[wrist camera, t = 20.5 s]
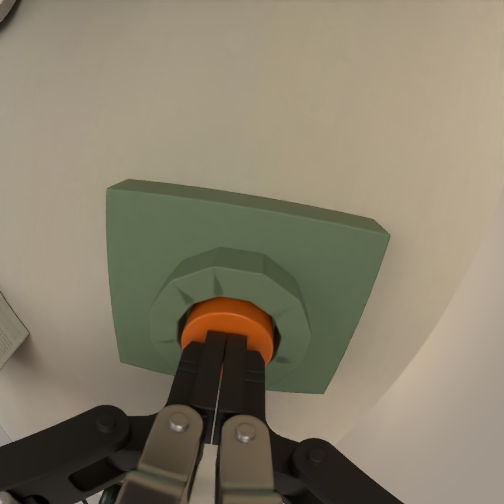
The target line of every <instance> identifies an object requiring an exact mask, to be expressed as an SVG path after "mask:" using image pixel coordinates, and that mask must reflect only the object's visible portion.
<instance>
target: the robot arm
mask: <svg viewBox="0 0 504 504" xmlns="http://www.w3.org/2000/svg"><path fill="white" fill-rule="evenodd" d="M226 334H227V333H223V332H216V331H211V330H208V331H207V334H206V339H205V343H201V342H196V341H191V342H190V343H189V344H188V345H187V346H186V347H185V348H184V349H183V352H182V355H181V358H180V362H179V364H178V368H177V371H176V374H175V377H174V381H173V384H172V387H171V391H170V394H169V397H168V401H167V403H166V405H165V406H164V408H163V409H162V410H160V411H159V412H157V413H155V414H153V415H149V416H127V415H126V414H125V413H124V412H123V411H122V410H121V409H119V408H117V407H115V406H111V405H100V406H97V407H95V408H92V409H90V410H88V411H86V412H84V413H82V414H79V415H77V416H75V417H73V418H70V419H68V420H66V421H64V422H61V423H59V424H57V425H54V426H52V427H50V428H47V429H45V430H42V431H40V432H38V433H35V434H33V435H30V436H28V437H25V438H22V439H20V440H17V441H15V442H12V443H9V444H6V445H4V446H1V447H0V504H74V503H77V502H79V501H81V500H83V499H86V498H87V497H90V496H92V495H94V494H96V493H98V492H100V491H102V490H104V489H106V488H108V487H110V486H112V485H114V484H115V483H117V482H119V481H121V480H123V479H124V481H123V484H122V486H121V489H120V491H119V494H118V497H117V499H116V502H115V504H189V503H190V499H191V495H192V491H193V488H194V484H195V480H196V476H197V472H198V468H199V464H200V461H201V459H202V456H203V449H204V443H206V444H210V443H211V436H212V429H213V422H214V415H215V408H216V401H217V394H218V388H219V381H220V374H221V368H222V361H223V354H224V347H225V341H226ZM212 444H213V445H218V450H217V458H216V464H215V504H283V503H284V504H404V503H402V502H401V501H400V500H398V499H397V498H396V497H394V496H393V495H392V494H390V493H389V492H388V491H387V490H385V489H384V488H383V487H381V486H380V485H379V484H378V483H376V482H375V481H374V480H372V479H371V478H370V477H369V476H368V475H366V474H365V473H364V472H363V471H362V470H360V469H359V468H358V467H357V466H356V465H354V464H353V463H352V462H351V461H350V460H349V459H347V458H346V457H345V456H344V455H343V454H342V453H340V452H339V451H338V450H337V449H336V448H335V447H334V446H333V445H331V444H330V443H329V442H327V441H325V440H322V439H318V438H310V439H306V440H303V441H301V442H300V443H299V442H296V441H293V440H290V439H286V438H284V437H281V436H279V435H277V434H276V433H275V432H273V431H272V430H271V429H270V427H269V426H268V424H267V422H266V418H265V361H264V359H263V357H262V355H261V354H260V352H259V351H253V350H247V336H243V335H236V334H229V333H228V339H227V345H226V352H225V358H224V365H223V372H222V379H221V386H220V392H219V400H218V407H217V414H216V421H215V428H214V435H213V443H212Z"/></svg>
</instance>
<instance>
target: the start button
mask: <svg viewBox="0 0 504 504" xmlns="http://www.w3.org/2000/svg"><path fill="white" fill-rule="evenodd" d="M208 330H211V331H216V332H223V333H227V334H226V341H225V347H224V354H223V361H222V368H221V374H220V378H221V379H222V372H223V365H224V358H225V352H226V345H227V339H228V333H229V334H236V335H243V336H247V350H253V351H259V352H260V354H261V355H262V357H263V359H264V361H265V367H266V365H267V364H268V363H269V361H270V359H271V357H272V354H273V328H272V318H271V315H269V314H268V313H266V312H265V311H263V310H262V309H260V308H259V307H257V306H256V305H255V304H253V303H252V302H250V301H246V300H240V299H233V298H227V297H221V296H218V297H215V298H211V299H208V300H204V301H201V302H198V303H194V305H193V306H192V308H191V311H190V313H189V316H188V319H187V322H186V325H185V327H184V330H183V333H182V337H181V345H182V349H184V348H185V347H186V346H187V345H188V344H189V343H190V342H191V341H196V342H201V343H205V339H206V334H207V331H208Z"/></svg>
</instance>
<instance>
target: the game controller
mask: <svg viewBox="0 0 504 504" xmlns="http://www.w3.org/2000/svg"><path fill="white" fill-rule="evenodd" d="M15 1H16V0H0V22H1V21H2V20H3V19H4V18H5V17H6V15H7V14H8V12H9V11H10V10H11V8H12V6H13V5H14V3H15Z"/></svg>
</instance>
